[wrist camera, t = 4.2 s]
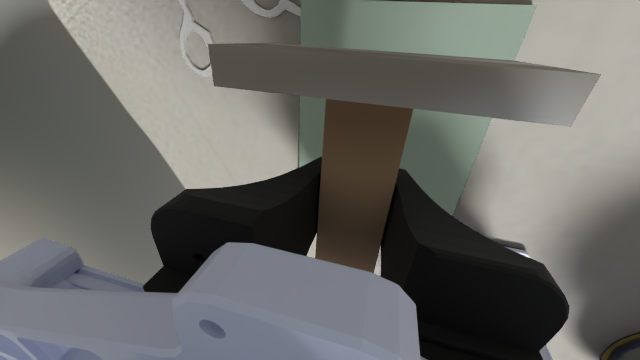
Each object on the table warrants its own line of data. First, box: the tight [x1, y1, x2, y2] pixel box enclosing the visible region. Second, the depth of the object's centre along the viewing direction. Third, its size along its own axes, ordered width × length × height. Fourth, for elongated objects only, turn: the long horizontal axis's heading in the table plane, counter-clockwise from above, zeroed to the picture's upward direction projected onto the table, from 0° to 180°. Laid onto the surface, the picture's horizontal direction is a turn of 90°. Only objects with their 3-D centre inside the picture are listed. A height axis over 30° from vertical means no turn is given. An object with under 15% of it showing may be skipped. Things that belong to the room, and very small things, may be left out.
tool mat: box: [299, 0, 537, 216], centre depth 18 cm, size 15×13×1 cm
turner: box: [208, 43, 601, 273], centre depth 12 cm, size 13×10×5 cm
